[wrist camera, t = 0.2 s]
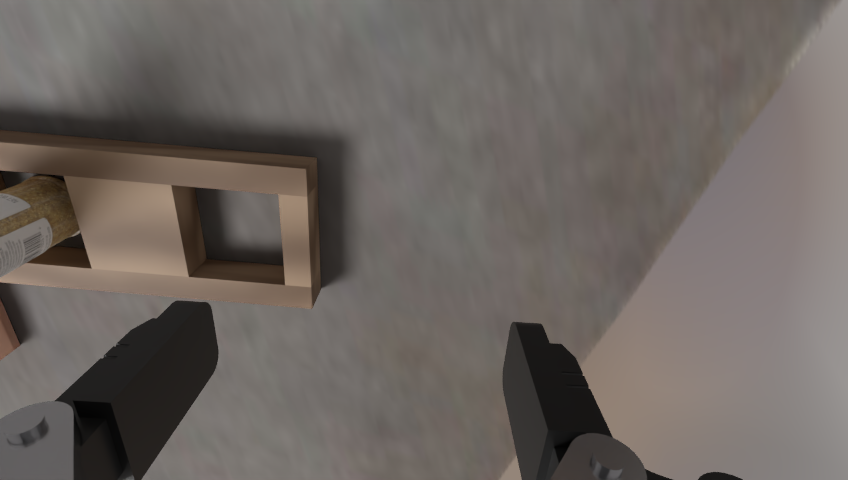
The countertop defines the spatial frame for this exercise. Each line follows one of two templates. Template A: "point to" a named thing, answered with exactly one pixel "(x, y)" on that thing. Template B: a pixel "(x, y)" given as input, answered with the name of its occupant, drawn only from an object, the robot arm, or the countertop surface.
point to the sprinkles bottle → (34, 220)
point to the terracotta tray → (6, 334)
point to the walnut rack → (167, 219)
